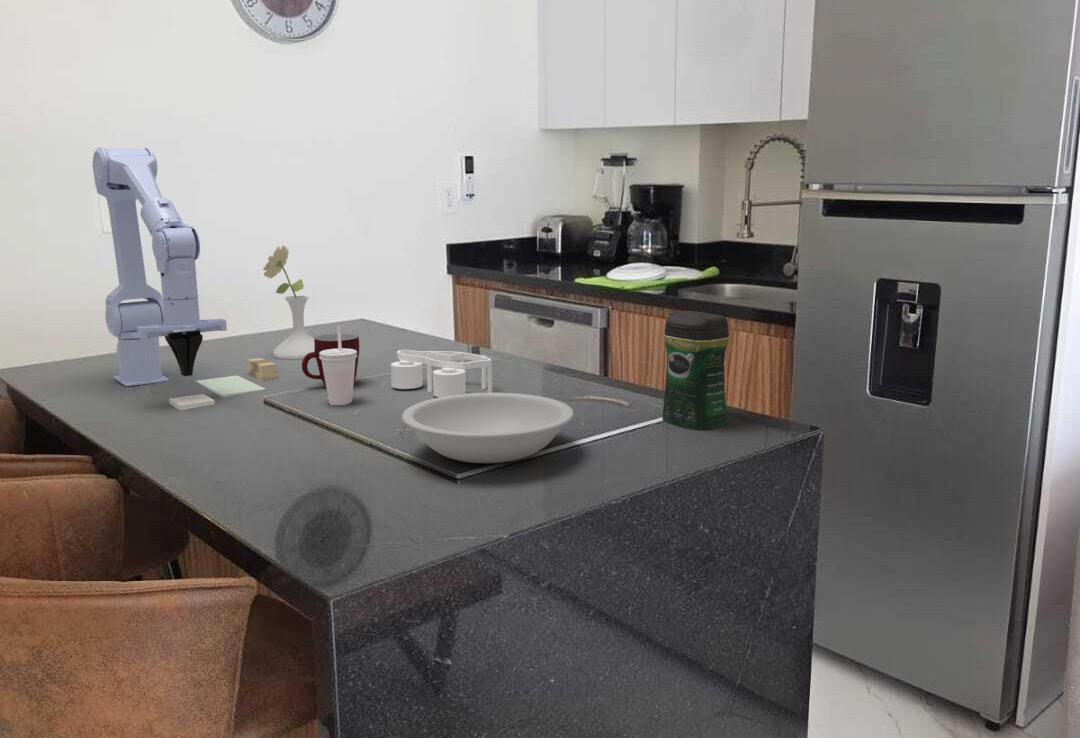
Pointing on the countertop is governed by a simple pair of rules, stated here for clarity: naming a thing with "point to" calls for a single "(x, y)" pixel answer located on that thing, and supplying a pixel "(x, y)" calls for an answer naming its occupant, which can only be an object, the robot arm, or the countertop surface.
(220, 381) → the mat
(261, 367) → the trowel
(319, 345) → the mug
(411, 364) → the white rack with cylinders
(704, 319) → the coffee jar
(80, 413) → the countertop surface
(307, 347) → the flower in vase
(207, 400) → the tile
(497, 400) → the soup bowl
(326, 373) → the smoothie
